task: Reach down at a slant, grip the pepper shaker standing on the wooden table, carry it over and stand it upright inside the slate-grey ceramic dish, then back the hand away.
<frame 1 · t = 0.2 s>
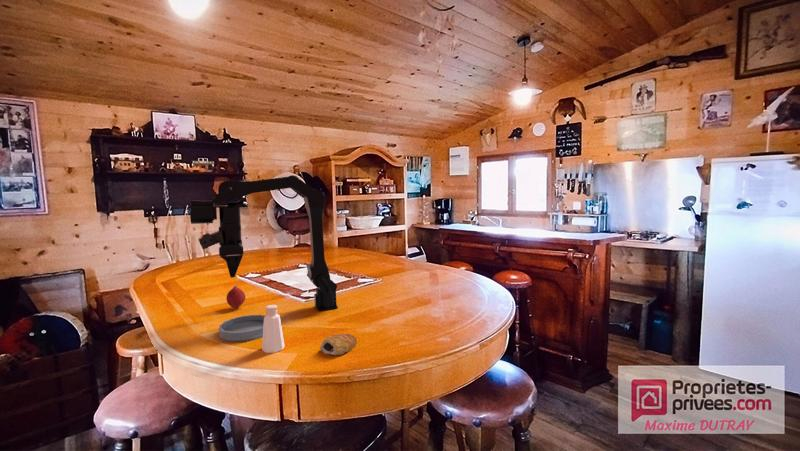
hand: (232, 274, 113), 15 cm above the table, tool pointing down, fingers open, 9 cm apart
dish: (247, 331, 105), on the table
onion: (236, 309, 126), on the table
pepper shaker: (273, 349, 94), on the table
pastry: (338, 350, 93), on the table
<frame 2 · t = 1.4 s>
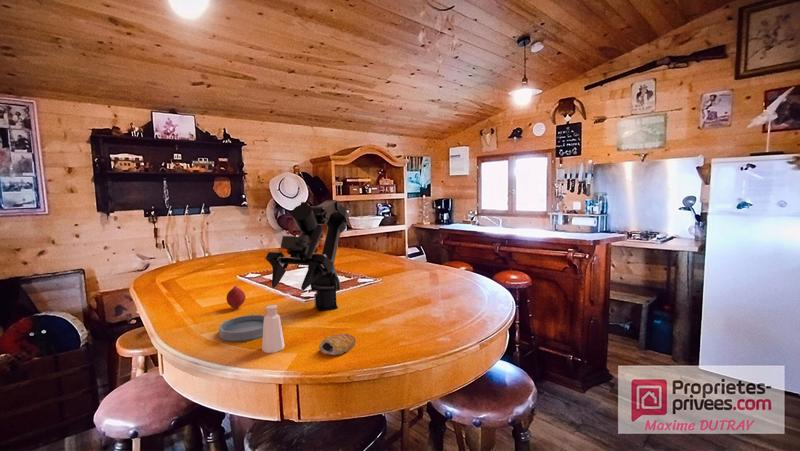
hand: (287, 288, 100), 13 cm above the table, tool tilted 45°, fingers open, 9 cm apart
nothing on the table moved.
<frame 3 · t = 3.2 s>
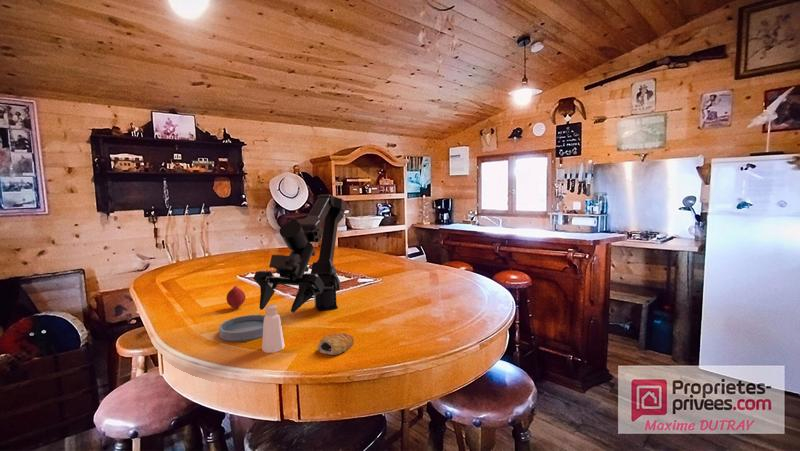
hand: (276, 310, 94), 9 cm above the table, tool tilted 45°, fingers open, 9 cm apart
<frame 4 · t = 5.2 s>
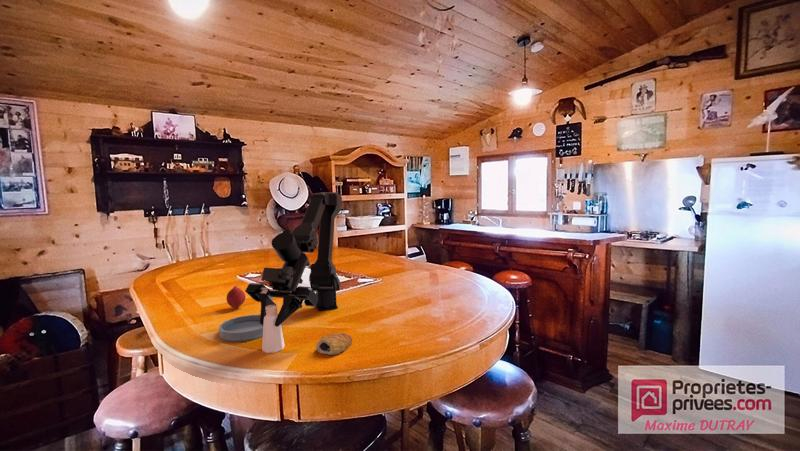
hand: (268, 325, 92), 7 cm above the table, tool tilted 45°, fingers closed on pepper shaker, 4 cm apart
pepper shaker: (273, 349, 94), on the table, touching gripper
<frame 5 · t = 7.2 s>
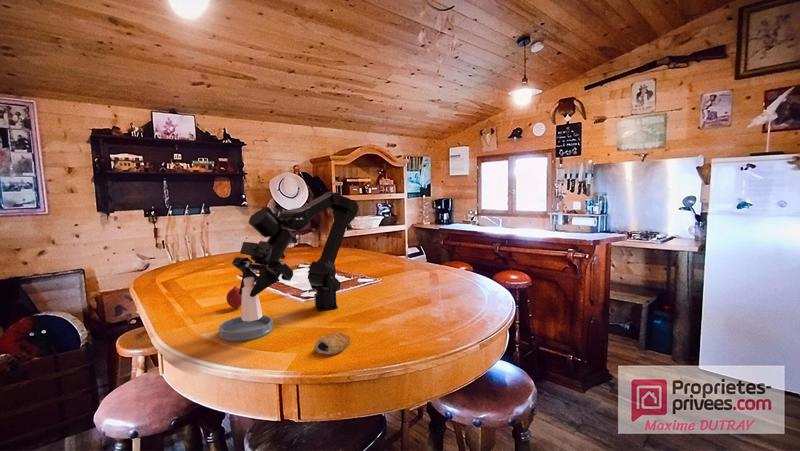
hand: (245, 295, 98), 12 cm above the table, tool tilted 45°, fingers closed on pepper shaker, 4 cm apart
pepper shaker: (251, 318, 100), point 5 cm above the table, touching gripper
when the fingers open (8 cm above the table, at t = 9.3 s): pepper shaker stays where it is, resting on dish.
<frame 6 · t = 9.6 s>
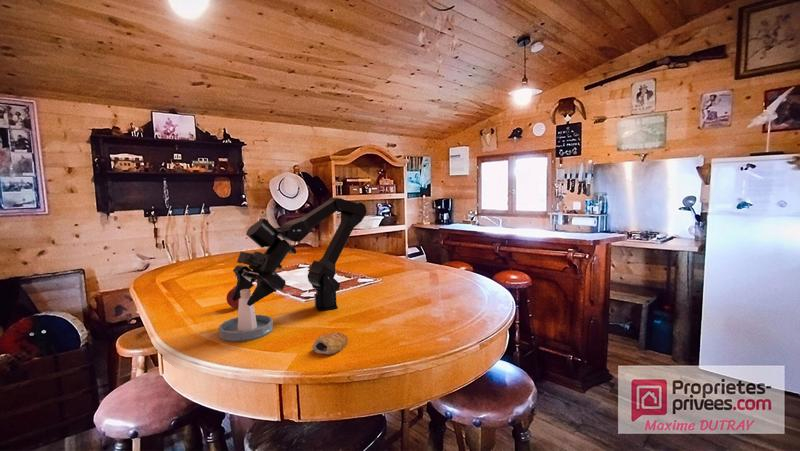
hand: (240, 302, 103), 9 cm above the table, tool tilted 45°, fingers open, 7 cm apart
pepper shaker: (247, 328, 105), point 1 cm above the table, touching dish
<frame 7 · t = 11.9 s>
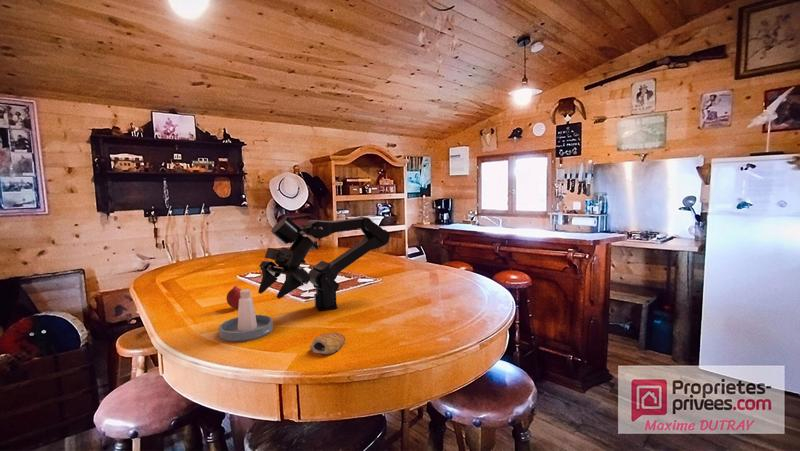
hand: (268, 295, 110), 9 cm above the table, tool tilted 45°, fingers open, 9 cm apart
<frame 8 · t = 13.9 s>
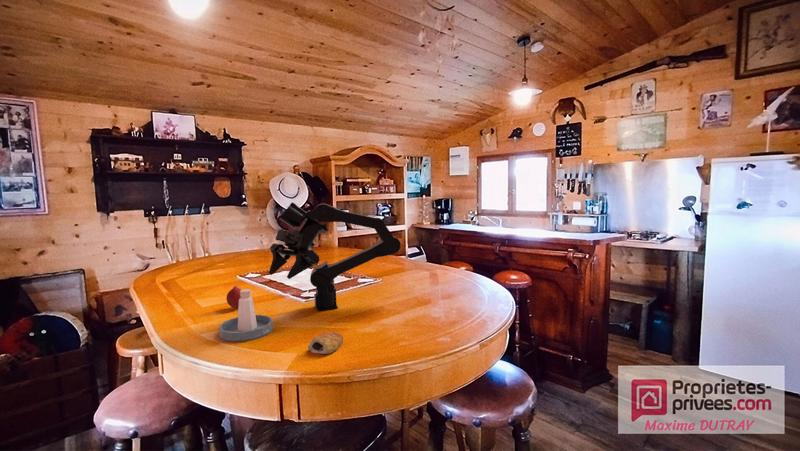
hand: (278, 276, 113), 14 cm above the table, tool tilted 45°, fingers open, 9 cm apart
at the end: pepper shaker inside the target area on the dish (0.2 cm from its centre), point 0.8 cm above the dish's base; pepper shaker tilted 0°; the gripper is holding nothing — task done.
